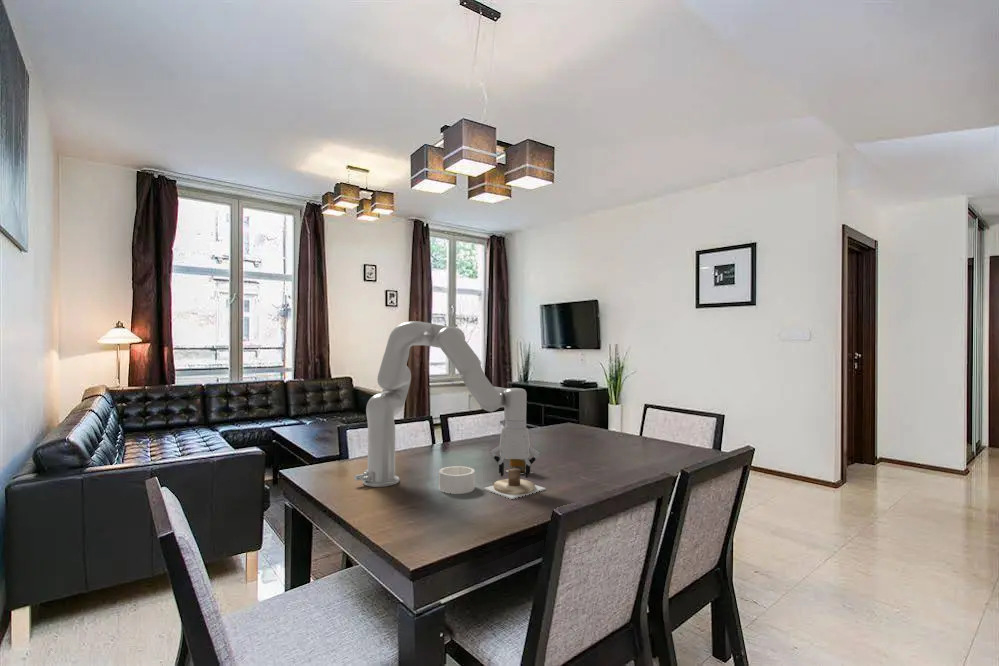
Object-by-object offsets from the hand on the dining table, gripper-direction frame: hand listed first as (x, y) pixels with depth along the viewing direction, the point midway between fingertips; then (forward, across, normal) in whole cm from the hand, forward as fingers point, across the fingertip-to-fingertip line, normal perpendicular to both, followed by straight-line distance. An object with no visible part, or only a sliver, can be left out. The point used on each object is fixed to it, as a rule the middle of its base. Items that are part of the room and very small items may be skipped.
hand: (514, 475), depth 171 cm
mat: (+5, 0, 0) cm, 5 cm away
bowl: (+5, -20, -2) cm, 20 cm away
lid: (+4, 0, 0) cm, 4 cm away
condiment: (+5, -1, +23) cm, 23 cm away
